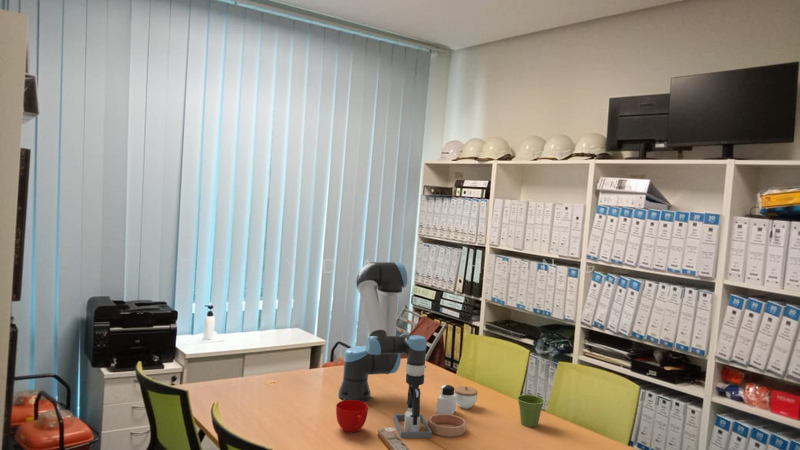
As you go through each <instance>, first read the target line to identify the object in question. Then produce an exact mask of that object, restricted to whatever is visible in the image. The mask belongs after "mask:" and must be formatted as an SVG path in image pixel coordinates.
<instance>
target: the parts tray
mask: <svg viewBox="0 0 800 450" xmlns="http://www.w3.org/2000/svg"><path fill="white" fill-rule="evenodd" d="M400 421H405V413H403V414H402V413H401V414H400V413H399V414H398V413H394V414H393V422H394V424H395V427H396V430H397V432H398V434H399V437H401V439H403V438H405V439H407V438H408V439H410V438H411V439H414V438H419V439H420V438H424V439H425V438H427V439H428V438H429V439H431V438H432V436H433V435H432V434H433V433H432V432H431V430H430V428H429V426H428V421H427V420H426V418H425V416H424V415H423V414H421V413H420V423H421V424H422V426H423V427H424V429H425V430H424V431H417V432H410V431H403V429H402V427H401V426H402V425H401V424H400Z"/></svg>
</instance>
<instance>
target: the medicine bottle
mask: <svg viewBox="0 0 800 450" xmlns="http://www.w3.org/2000/svg"><path fill="white" fill-rule="evenodd" d="M436 400H437V402H436V414H450V415H455V412H456V410H457V409H456V407H457V403H456V396H455V387H454V386H453V385H450V384H444V385H442V386H440V395H439V396H438V397H437V399H436Z"/></svg>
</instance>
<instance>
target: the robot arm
mask: <svg viewBox="0 0 800 450" xmlns="http://www.w3.org/2000/svg"><path fill="white" fill-rule="evenodd" d="M355 283H356V289H357V291H358V293H360V299H361V303H362V306H363V312H364V316H365V321H366V326H367V330H368V335H369V336H367V337H366V340H365V345H363V346H362V345H356V346H351V347H349V348H347V349H346V350H345V351H344V352H345V353H344V356H343V357H344V358H343V374H342V375H343V376H342V383H341V385H340V387H339V390H338V398H339V397H340V398H339V399H341V398H342V399H341V400H343V399H345V400H356V401H361V402H365V400H366V401H368V400H370V399H369V398H371V389H370V385H369V381H368V379H369V378H368V377H369V375H389V374H395V373H396V372H397V371H398V370H399V368H400V365H401V360H402V359H401V358H402V357H401V355H402V354H404V355H407V356H406V375H405V382H406V384H407V385H408V388H407V389H408V391H407V399H406V401H407V402H406V405H407V412H412V415H410V416H411V431H409V432H418V431H417V429H418V417H420V414H421V413H420V412H421V411H420V408H421V388H420V387H419V386H422V385H424V384H425V369H427V365H426V355H427V338H426V337H425V336H423V335H417V334H415V335H412V334H408V333H402V334H400V335H396V328H397V317H398V306H399V305H398V304H399V295H400V294H402V292H403V288H406V287H407V284H408V272H407V268H406V267H405V265H404V264H403V263H401V262H382V261H381V262H377V261H372V262H368V263H366V264H365V265H364V266H363V267H362V268H361V269H360V270H359V272H358V274H357V277H356V281H355ZM378 292H379V294H380V297H379V295H378ZM345 400H344V401H345Z"/></svg>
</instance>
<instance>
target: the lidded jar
mask: <svg viewBox="0 0 800 450" xmlns="http://www.w3.org/2000/svg"><path fill="white" fill-rule="evenodd" d="M454 396H456V405H457V406H458V407H459V408H460V409H466V410H467V409H468V410H469V409H471V408H472V407H473V406H475V404H476V402H477V398H478V390H477V389H476V388H473V387H471V386H457V387H454Z"/></svg>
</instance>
